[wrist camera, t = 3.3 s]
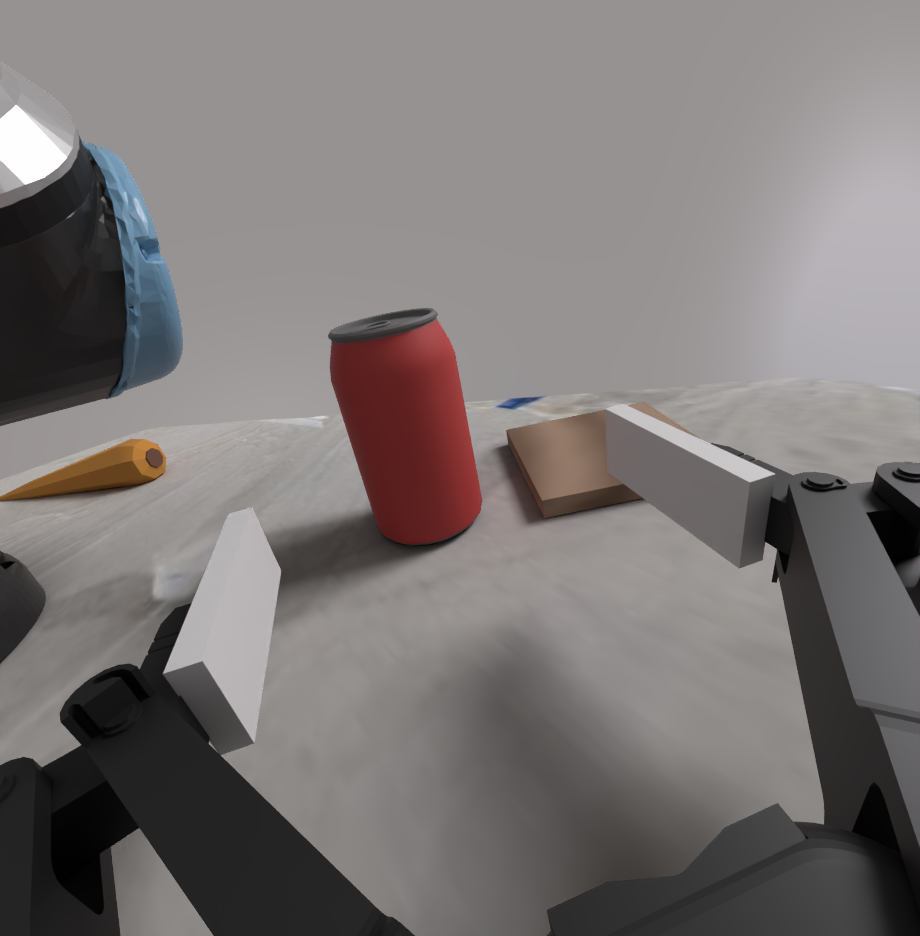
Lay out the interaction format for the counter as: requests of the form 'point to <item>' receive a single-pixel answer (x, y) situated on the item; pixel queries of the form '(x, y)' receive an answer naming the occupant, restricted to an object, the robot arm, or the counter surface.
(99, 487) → the carrot
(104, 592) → the counter surface
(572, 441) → the walnut board
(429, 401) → the beer can
